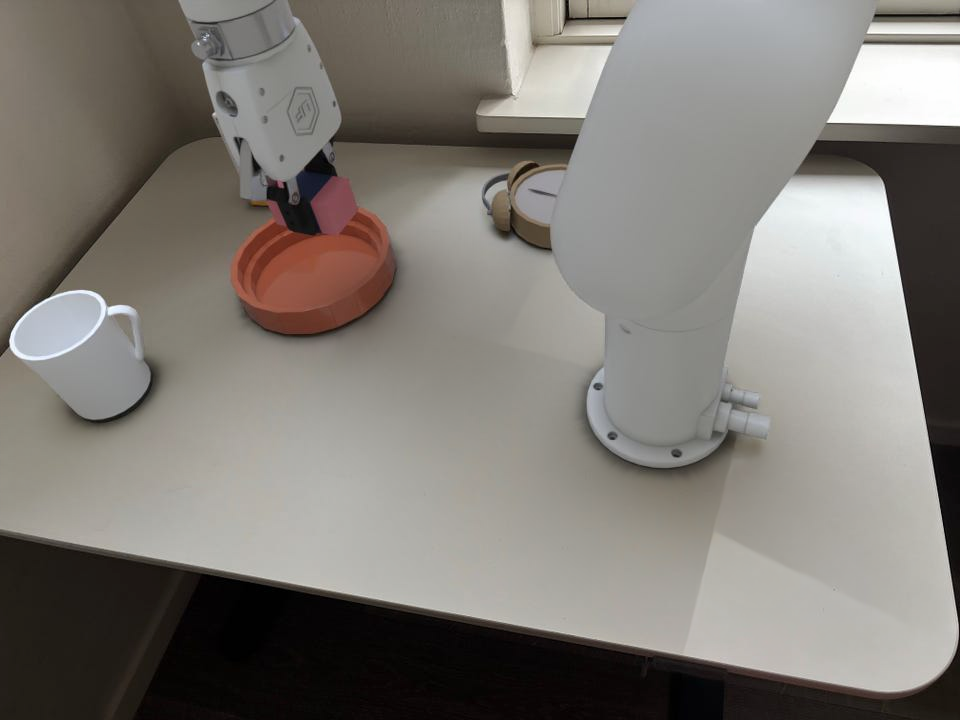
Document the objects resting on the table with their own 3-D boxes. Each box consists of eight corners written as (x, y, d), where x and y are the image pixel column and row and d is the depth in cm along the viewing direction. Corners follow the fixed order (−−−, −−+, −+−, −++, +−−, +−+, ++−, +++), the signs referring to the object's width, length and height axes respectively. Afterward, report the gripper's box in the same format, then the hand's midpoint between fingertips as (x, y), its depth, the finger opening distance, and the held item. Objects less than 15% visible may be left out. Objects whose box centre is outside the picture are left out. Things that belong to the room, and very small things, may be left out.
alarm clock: (594, 239, 76) (464, 196, 79) (586, 271, 80) (464, 229, 83) (625, 176, 82) (504, 139, 85) (616, 209, 86) (501, 172, 89)
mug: (72, 439, 71) (7, 374, 63) (71, 376, 76) (11, 310, 69) (181, 398, 72) (130, 330, 65) (172, 340, 78) (125, 271, 70)
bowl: (422, 243, 83) (415, 216, 80) (347, 353, 74) (336, 327, 70) (297, 219, 89) (287, 193, 86) (213, 318, 80) (198, 292, 77)
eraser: (359, 209, 68) (348, 177, 66) (337, 237, 66) (325, 204, 63) (299, 199, 71) (286, 167, 68) (276, 225, 69) (262, 193, 66)
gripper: (214, 85, 49) (302, 281, 62) (340, -22, 58) (393, 169, 72) (134, 76, 51) (235, 266, 65) (266, -25, 61) (330, 160, 74)
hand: (317, 214), depth 68 cm, fingers closed on eraser, 4 cm apart
